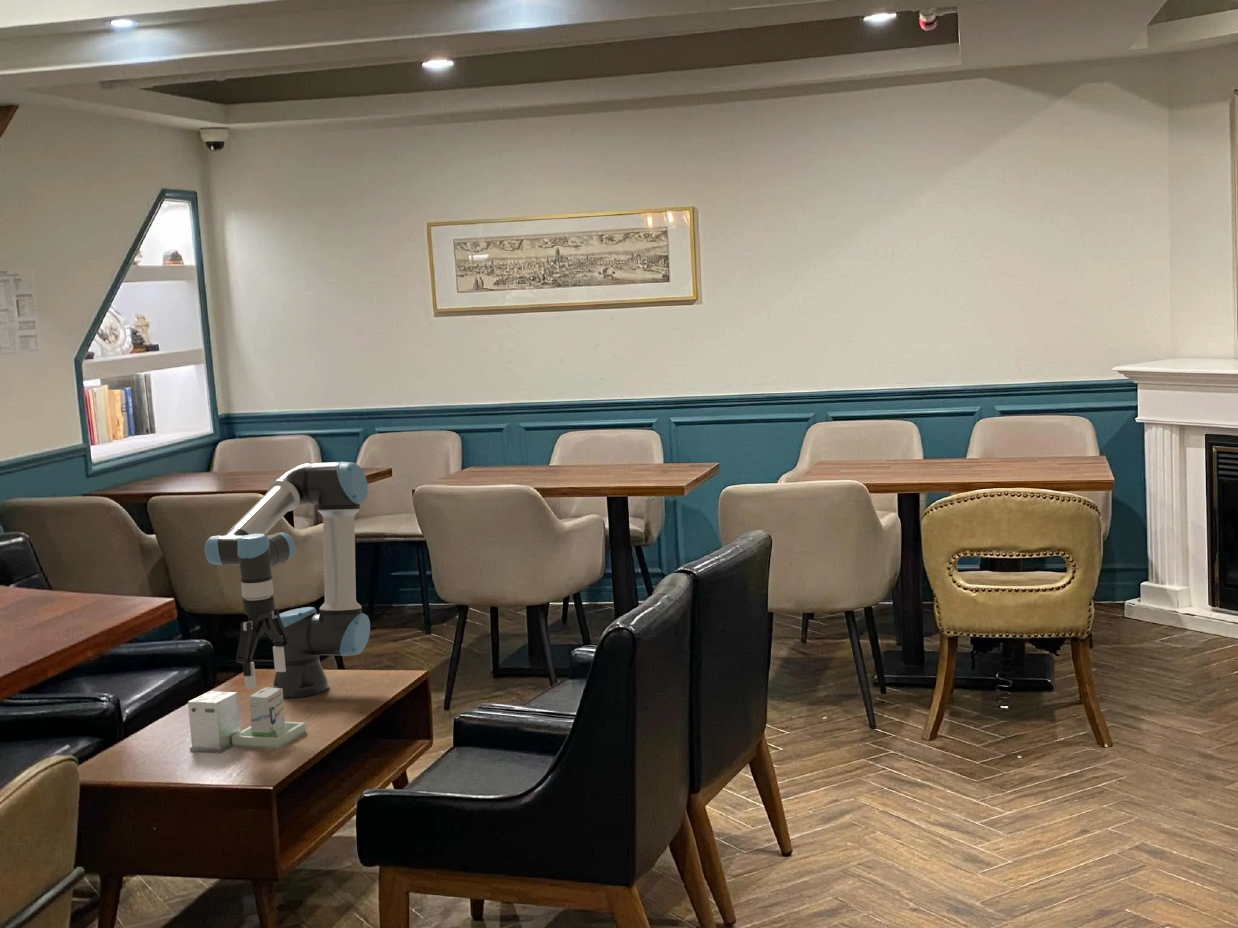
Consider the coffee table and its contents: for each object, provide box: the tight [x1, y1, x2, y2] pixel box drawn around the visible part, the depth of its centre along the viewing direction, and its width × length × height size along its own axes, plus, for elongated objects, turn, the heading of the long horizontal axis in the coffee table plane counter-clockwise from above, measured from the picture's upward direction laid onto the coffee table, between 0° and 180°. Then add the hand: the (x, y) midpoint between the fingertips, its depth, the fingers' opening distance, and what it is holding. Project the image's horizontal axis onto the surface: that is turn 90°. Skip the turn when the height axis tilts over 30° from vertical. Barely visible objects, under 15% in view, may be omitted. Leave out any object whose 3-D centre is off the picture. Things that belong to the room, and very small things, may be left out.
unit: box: [187, 690, 241, 754], centre depth 326 cm, size 10×9×12 cm
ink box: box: [249, 686, 286, 738], centre depth 329 cm, size 9×5×12 cm, turn 166°
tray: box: [232, 721, 307, 750], centre depth 330 cm, size 13×13×3 cm
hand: (265, 679), depth 329 cm, fingers open, 13 cm apart
